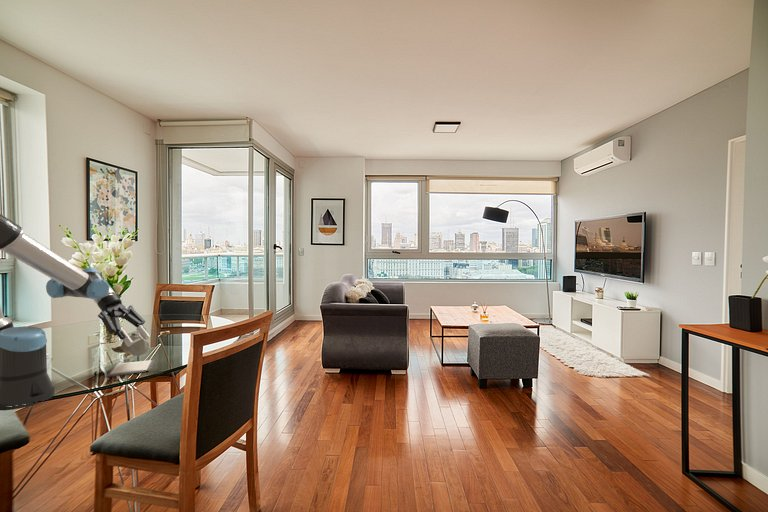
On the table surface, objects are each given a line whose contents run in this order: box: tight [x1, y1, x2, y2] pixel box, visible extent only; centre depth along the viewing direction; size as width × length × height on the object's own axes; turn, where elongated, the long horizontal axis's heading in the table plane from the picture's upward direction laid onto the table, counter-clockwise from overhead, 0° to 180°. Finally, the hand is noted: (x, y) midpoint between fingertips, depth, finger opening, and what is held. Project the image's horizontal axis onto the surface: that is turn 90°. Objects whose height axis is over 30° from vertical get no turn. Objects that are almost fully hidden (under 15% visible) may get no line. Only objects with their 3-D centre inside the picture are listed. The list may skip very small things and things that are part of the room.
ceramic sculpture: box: [111, 333, 150, 357], centre depth 152 cm, size 11×9×15 cm
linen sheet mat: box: [105, 359, 155, 378], centre depth 151 cm, size 14×14×1 cm
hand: (139, 341), depth 150 cm, fingers closed on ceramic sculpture, 7 cm apart
